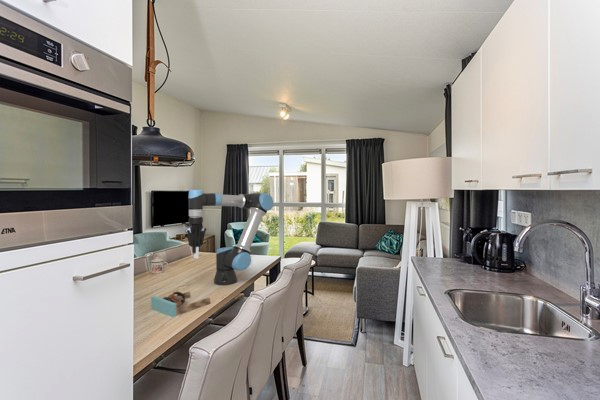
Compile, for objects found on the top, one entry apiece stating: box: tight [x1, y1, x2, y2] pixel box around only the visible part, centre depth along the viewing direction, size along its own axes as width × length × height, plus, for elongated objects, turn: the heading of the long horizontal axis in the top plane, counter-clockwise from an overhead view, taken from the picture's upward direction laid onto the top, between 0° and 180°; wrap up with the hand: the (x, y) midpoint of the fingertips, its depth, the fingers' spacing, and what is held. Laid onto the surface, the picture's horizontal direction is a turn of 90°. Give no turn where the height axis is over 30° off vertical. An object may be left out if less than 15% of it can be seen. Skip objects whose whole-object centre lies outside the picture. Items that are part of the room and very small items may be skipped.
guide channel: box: [173, 291, 211, 317], centre depth 160 cm, size 20×19×3 cm
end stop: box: [150, 295, 177, 318], centre depth 151 cm, size 2×19×6 cm, turn 55°
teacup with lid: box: [150, 256, 169, 275], centre depth 229 cm, size 12×9×12 cm
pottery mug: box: [162, 291, 187, 308], centre depth 158 cm, size 12×10×8 cm
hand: (196, 258), depth 172 cm, fingers closed
